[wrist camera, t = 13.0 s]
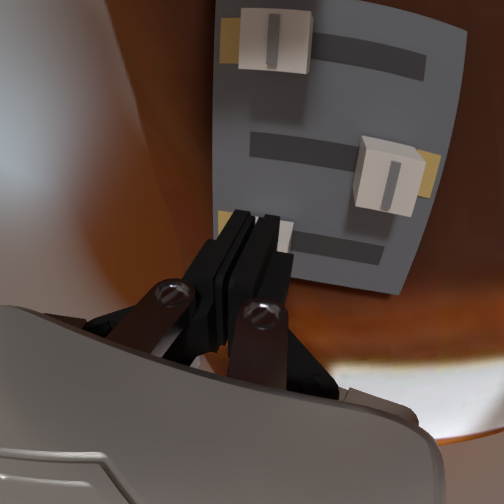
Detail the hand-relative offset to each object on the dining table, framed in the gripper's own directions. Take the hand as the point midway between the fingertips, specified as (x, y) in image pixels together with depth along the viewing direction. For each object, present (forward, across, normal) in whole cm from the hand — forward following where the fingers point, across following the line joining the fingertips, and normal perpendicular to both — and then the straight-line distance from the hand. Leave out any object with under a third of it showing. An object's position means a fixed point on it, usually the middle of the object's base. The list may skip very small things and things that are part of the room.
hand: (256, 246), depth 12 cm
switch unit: (+16, -2, 0) cm, 16 cm away
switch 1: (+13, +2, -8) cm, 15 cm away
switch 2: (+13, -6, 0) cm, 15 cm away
